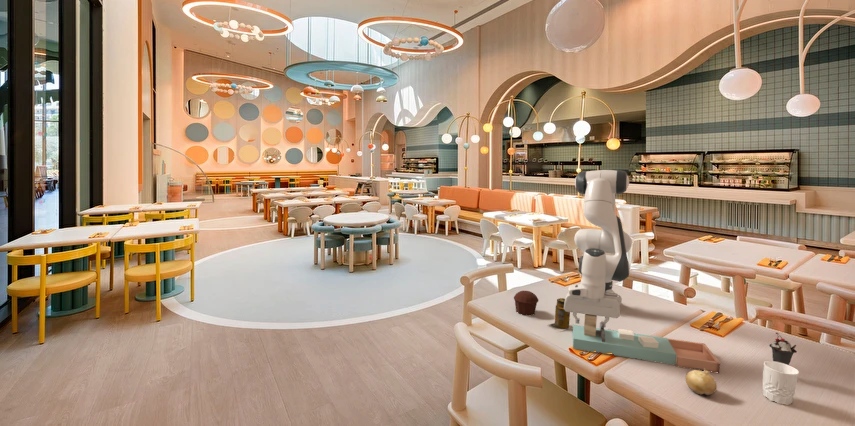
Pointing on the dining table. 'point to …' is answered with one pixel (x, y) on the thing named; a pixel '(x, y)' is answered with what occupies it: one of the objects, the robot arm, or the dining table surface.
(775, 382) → the white cup
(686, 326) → the dining table surface
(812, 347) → the dining table surface
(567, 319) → the condiment
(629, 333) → the tile
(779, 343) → the sundae
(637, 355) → the board
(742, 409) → the dining table surface
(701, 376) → the tan oval lump
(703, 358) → the tray
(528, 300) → the muffin
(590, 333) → the scraper
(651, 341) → the tile
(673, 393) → the dining table surface
